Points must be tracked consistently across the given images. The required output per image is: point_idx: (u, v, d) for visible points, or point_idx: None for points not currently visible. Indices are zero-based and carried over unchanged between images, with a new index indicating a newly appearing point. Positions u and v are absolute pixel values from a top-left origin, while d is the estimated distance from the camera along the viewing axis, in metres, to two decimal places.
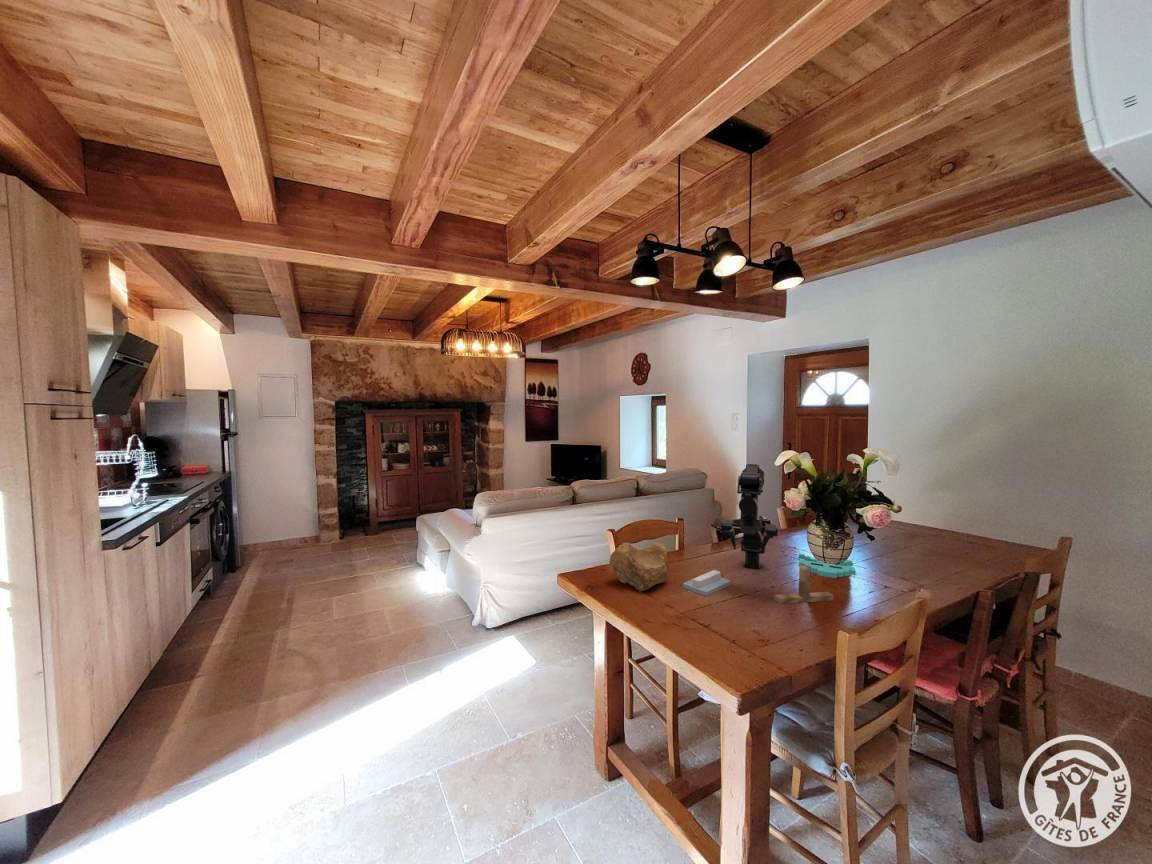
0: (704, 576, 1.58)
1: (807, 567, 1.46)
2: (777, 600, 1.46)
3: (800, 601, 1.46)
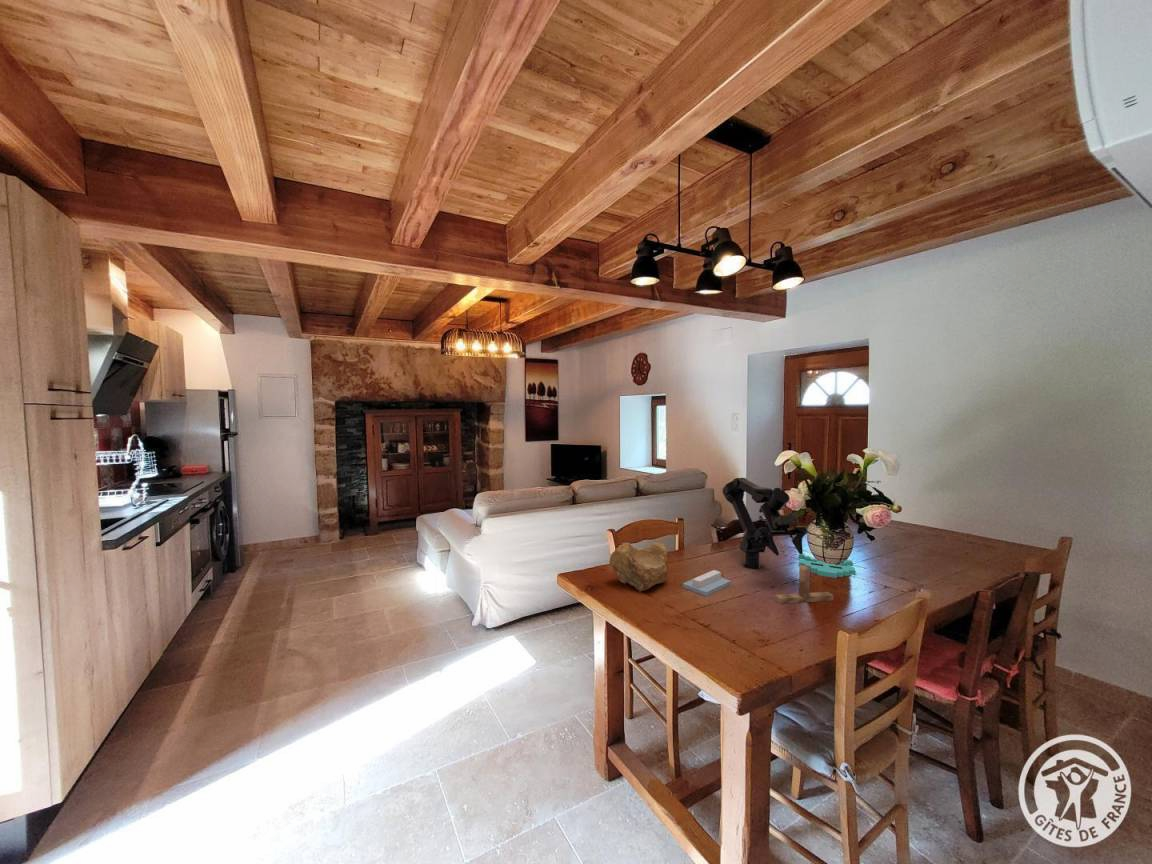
0: (704, 576, 1.58)
1: (807, 567, 1.46)
2: (777, 600, 1.46)
3: (800, 601, 1.46)
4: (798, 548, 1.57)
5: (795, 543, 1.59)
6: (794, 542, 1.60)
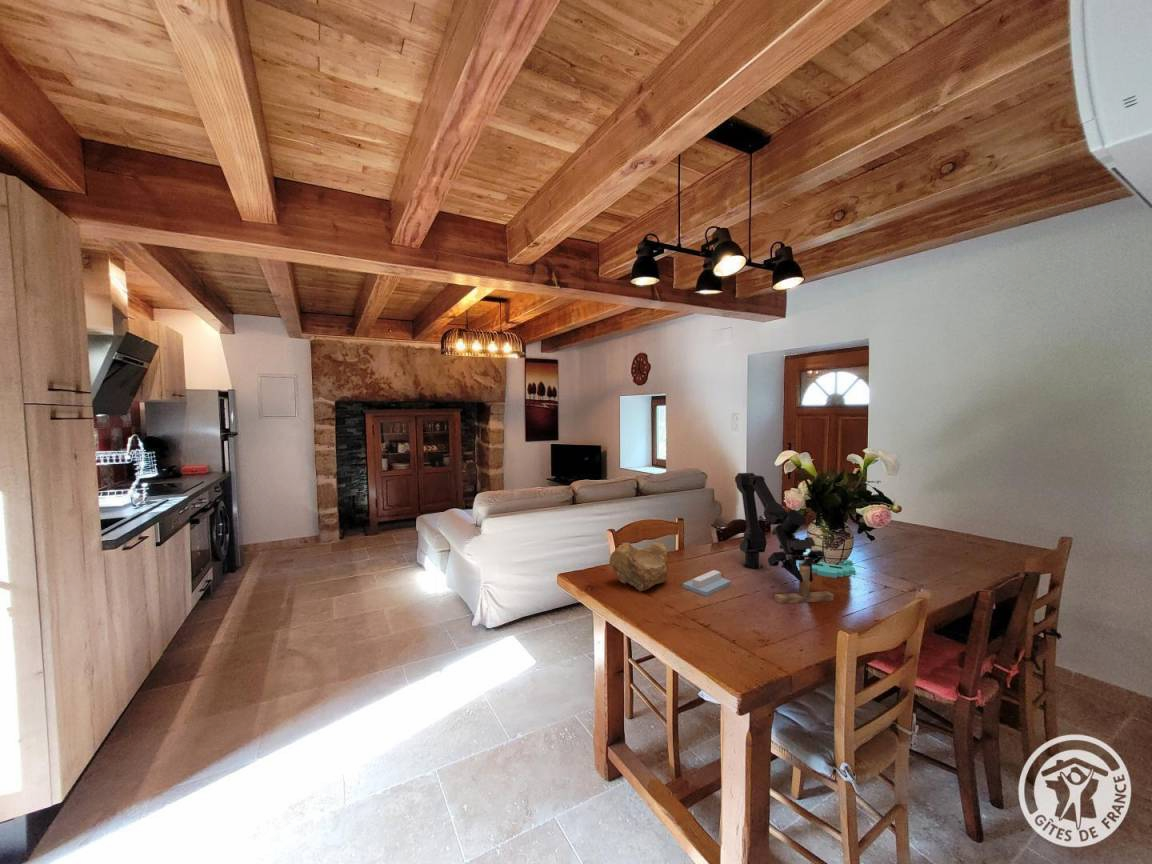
0: (704, 576, 1.58)
1: (807, 566, 1.46)
2: (777, 599, 1.46)
3: (800, 600, 1.46)
4: None
5: None
6: None
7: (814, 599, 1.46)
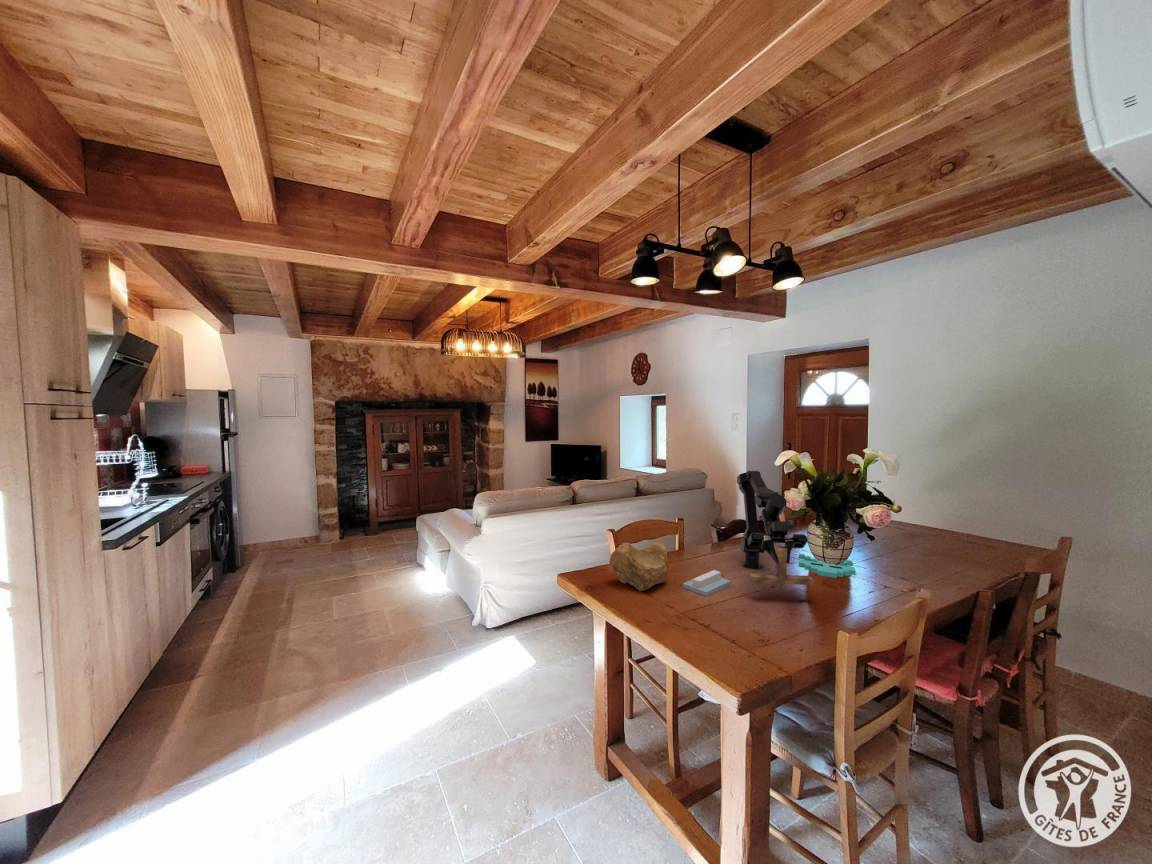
0: (704, 576, 1.58)
1: (784, 548, 1.46)
2: (751, 578, 1.48)
3: (775, 581, 1.46)
4: None
5: None
6: None
7: (791, 582, 1.45)
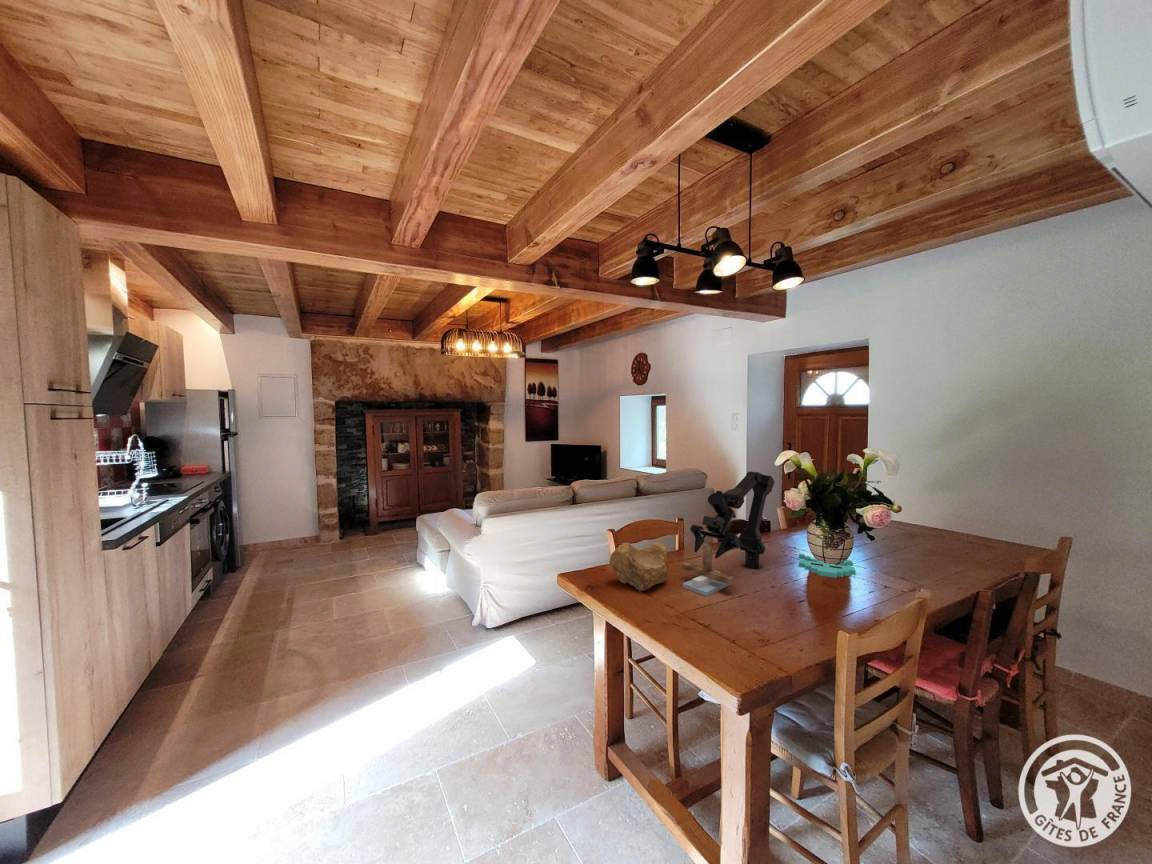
0: (704, 576, 1.58)
1: (707, 544, 1.58)
2: None
3: (699, 573, 1.60)
4: None
5: None
6: None
7: (711, 576, 1.56)
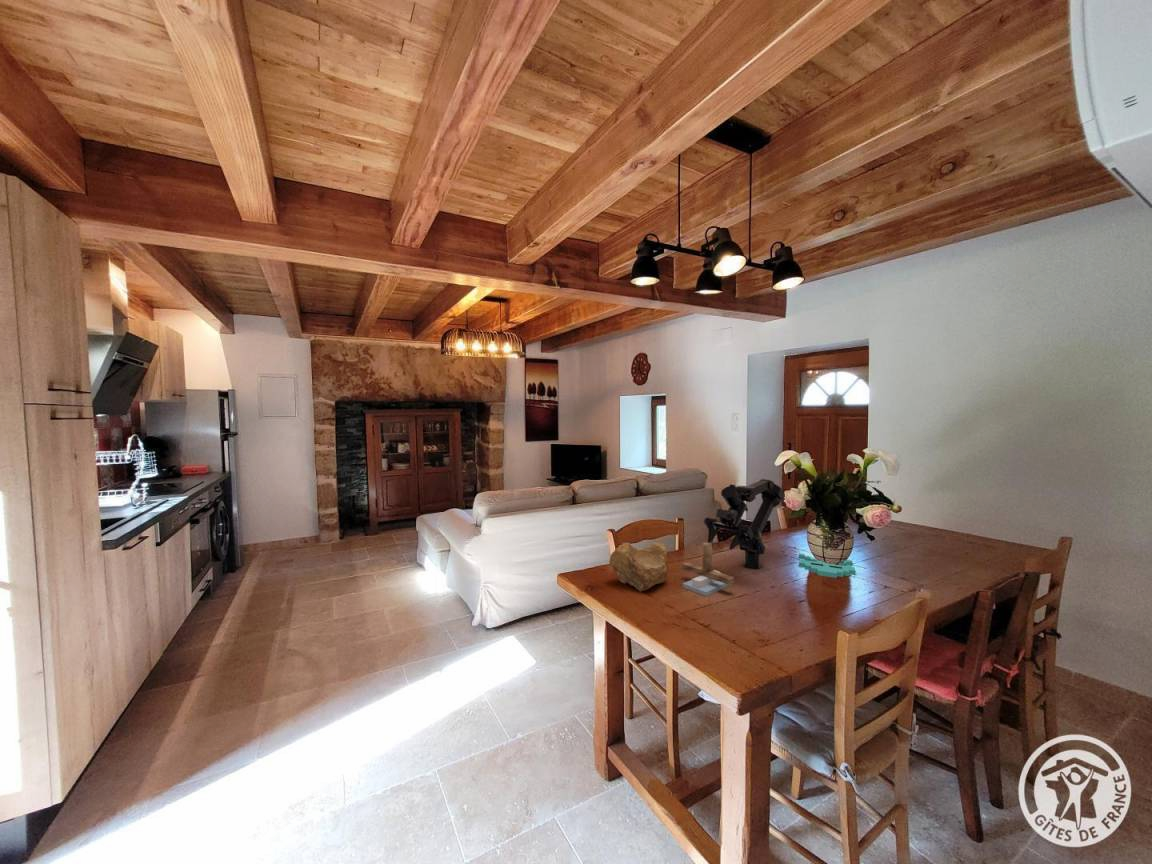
0: (704, 576, 1.58)
1: (707, 544, 1.58)
2: None
3: (699, 573, 1.60)
4: None
5: None
6: None
7: (711, 576, 1.56)
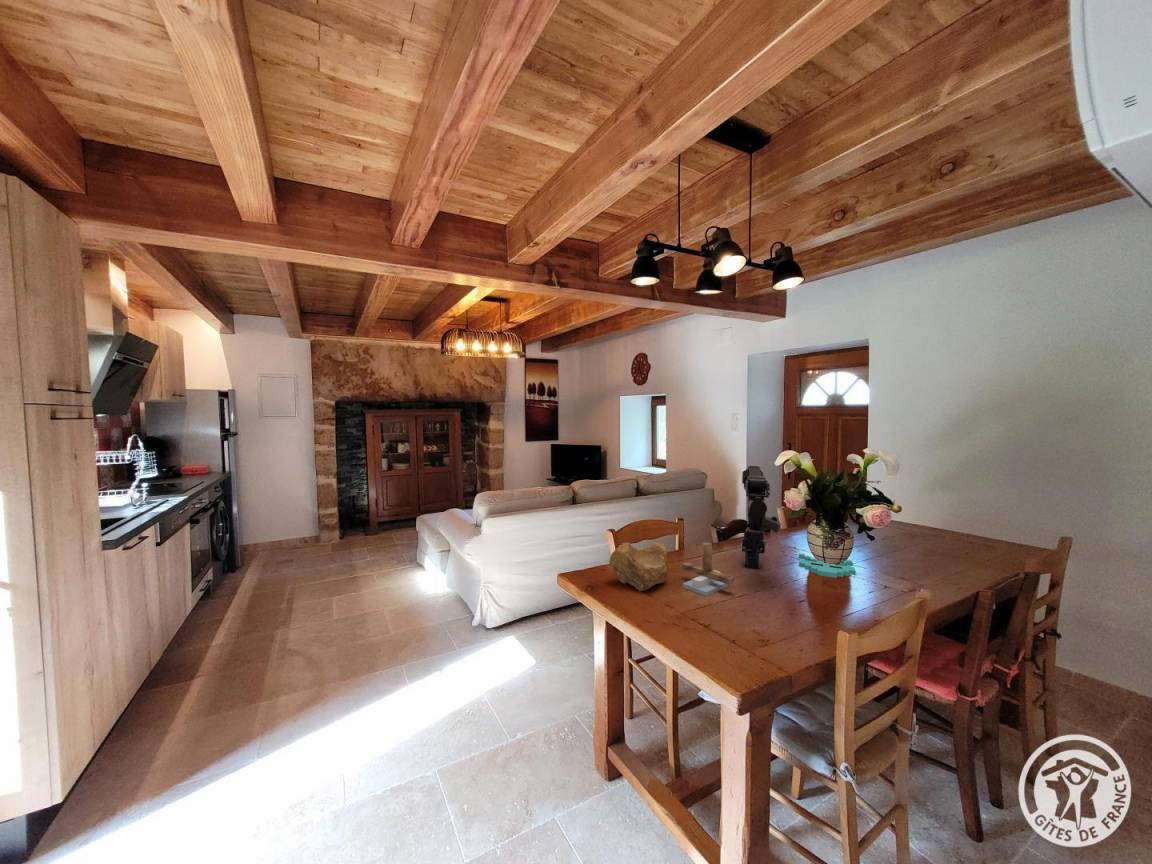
0: (704, 576, 1.58)
1: (707, 544, 1.58)
2: None
3: (699, 573, 1.60)
4: None
5: None
6: None
7: (711, 576, 1.56)
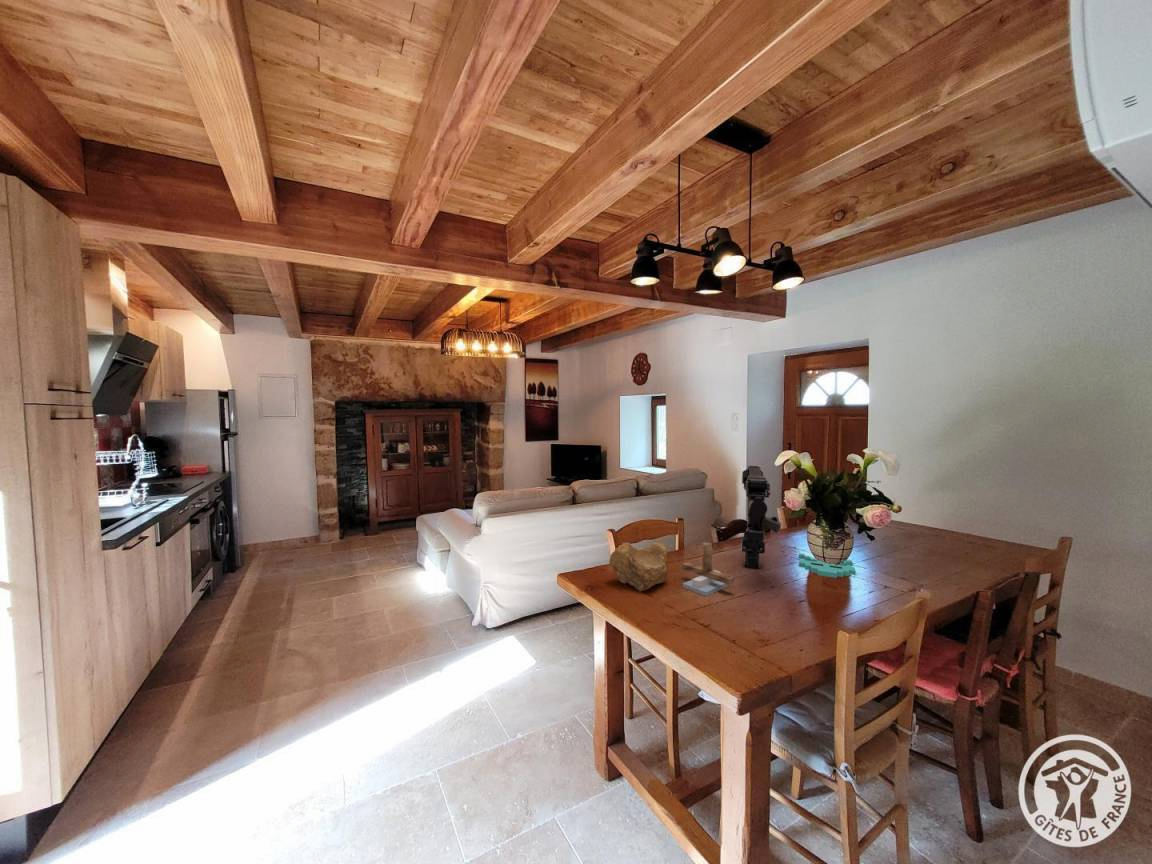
0: (704, 576, 1.58)
1: (707, 544, 1.58)
2: None
3: (699, 573, 1.60)
4: None
5: None
6: None
7: (711, 576, 1.56)
